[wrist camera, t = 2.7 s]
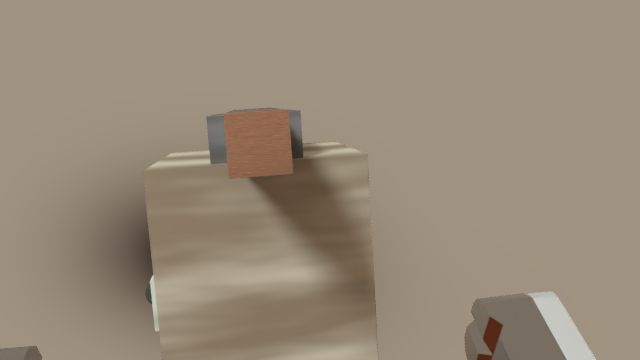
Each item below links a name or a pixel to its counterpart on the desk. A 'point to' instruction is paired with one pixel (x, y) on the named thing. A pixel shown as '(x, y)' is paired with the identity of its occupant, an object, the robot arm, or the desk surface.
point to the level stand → (262, 255)
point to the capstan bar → (258, 142)
